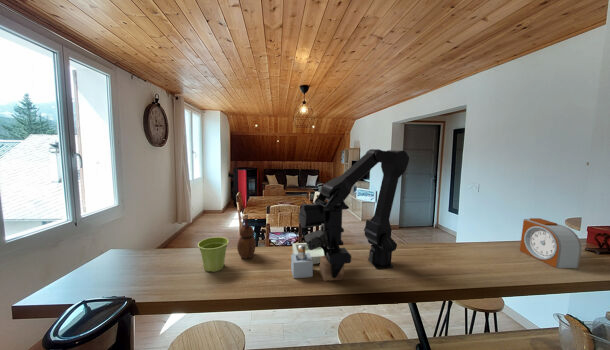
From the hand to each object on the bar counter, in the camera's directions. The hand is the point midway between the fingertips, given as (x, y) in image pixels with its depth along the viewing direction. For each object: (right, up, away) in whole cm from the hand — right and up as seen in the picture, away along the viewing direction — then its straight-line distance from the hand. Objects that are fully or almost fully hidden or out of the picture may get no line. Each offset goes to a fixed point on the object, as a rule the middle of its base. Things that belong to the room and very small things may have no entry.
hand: (331, 271), depth 76 cm
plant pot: (-38, 0, +3) cm, 38 cm away
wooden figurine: (-29, +1, +12) cm, 32 cm away
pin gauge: (-9, -1, +1) cm, 9 cm away
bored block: (-9, -1, +1) cm, 9 cm away
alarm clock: (+82, -1, +14) cm, 83 cm away
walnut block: (0, -1, 0) cm, 1 cm away
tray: (-6, +1, +13) cm, 14 cm away
